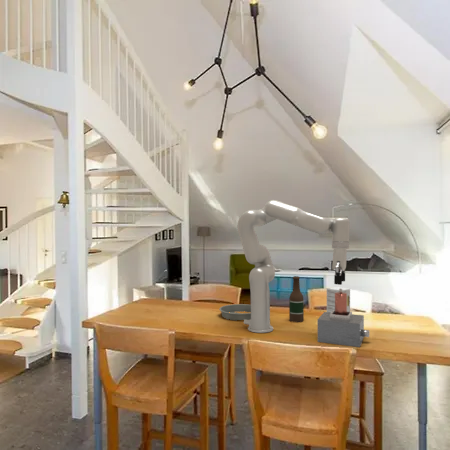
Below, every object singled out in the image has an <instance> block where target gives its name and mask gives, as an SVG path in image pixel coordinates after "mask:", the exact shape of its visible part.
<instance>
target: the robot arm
mask: <svg viewBox="0 0 450 450" xmlns="http://www.w3.org/2000/svg"><path fill="white" fill-rule="evenodd" d="M276 220H279V221H282V222H285V223H287V224H290V225H292V226H295V227H299V228H301V229H303V230H306V231H309V232H311V233H315V234H319V235H325V234H331V249H333V252H332V265H331V266H332V267H331V270H332V271H334V275H333V276H334V278H333V279H334V281H333V283H334V285H338V286H339V285H343V282H346V268H347V252H348V251H347V250H349V249H350V219H349V218H346V217H344V218H343V217H338V218H337V217H336V218H330V217H322V216H318V215H315V214H312V213H309V212H307V211H304V210H303V209H302V208H300V207H297V206H295V205H291V204H287V203H285V202H283V201H281V200H276V199H271V200H269V201H266V202H265V204H264V207H262V208H260V209H248V210H246V211H244V212H243V213H242V214H241V215H240V216H239V218H238V220H237V232H238V235H239V238H240V242H241V246H242V249H243V252H244V256H245V259H246V261H247V262H248V263H249V264H250V265H254V268H252V269H251V270H250V272H249V275H248V281H249V289H250V290H249V291H250V305H251V312H250V313H251V319H250V320H246V319H244V321H243V324H244V325H248V326H247V330H248V331H249V332H252V333H256V334H257V333H258V334H259V333H260V334H266V333H270V332H273V330H274V327H273V325H271V306H270V305H271V295H270V293H271V292H270V285H269V283H270V282H272V281H273V280H274V278H275V276H276V271H275V267H274V263H273V260H272V257H271V253H270V251H269V249H268V248H267V247H266V246H265V245H264V244H261V243H260V242H259V239H258V234H257V233H256V231H255V227H262V226H264V225H267V224H269V223H271V222H273V221H276Z"/></svg>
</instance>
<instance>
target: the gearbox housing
mask: <svg viewBox="0 0 450 450" xmlns="http://www.w3.org/2000/svg"><path fill="white" fill-rule="evenodd" d="M364 318H365V316H364V315H363V314H362V315H361V314H353V312H352V311H350V312H347V315H337V314H335V310H333V311H332V312H327V311H324V312H323V313H322V314H321V315H320V316H319V318H317V321H316V323H317V343H323V344H331V345H339V346H348V347H356V348H361V346H362V343H363V340H364V338H370V330H369V329H364V328H365V325H364V323H365V322H364V321H365V319H364Z"/></svg>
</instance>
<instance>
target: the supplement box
mask: <svg viewBox="0 0 450 450" xmlns="http://www.w3.org/2000/svg"><path fill="white" fill-rule="evenodd" d="M339 289H342V292H343V293H347V312H351V288H348V287H341V286H340V287H339V286H334V287H328V288H326V312H332V311H333V310H335V293H336V292H339Z"/></svg>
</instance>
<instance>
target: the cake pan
mask: <svg viewBox="0 0 450 450" xmlns="http://www.w3.org/2000/svg"><path fill="white" fill-rule="evenodd" d="M219 311H220V312H221V317H222V318H223V317H224V319H225V318H226V320H229V319H230V321H237V320H244V319H246V320H250V319H251V304H245V303H244V304H243V303H240V304H239V303H238V304H237V303H235V304H233V303H232V304H227V305H222V306H220V307H219ZM244 311H245V312H244ZM229 312H230V313H229ZM241 312H243V313H241ZM246 312H247V313H246Z"/></svg>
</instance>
